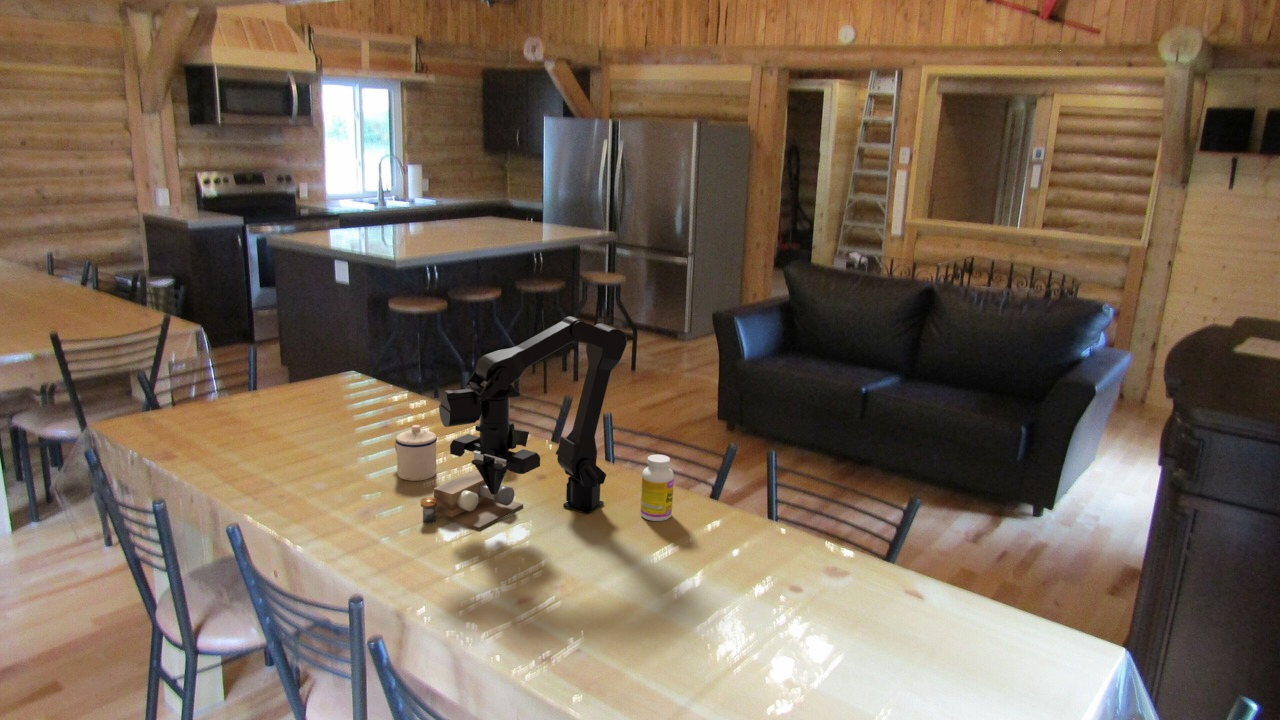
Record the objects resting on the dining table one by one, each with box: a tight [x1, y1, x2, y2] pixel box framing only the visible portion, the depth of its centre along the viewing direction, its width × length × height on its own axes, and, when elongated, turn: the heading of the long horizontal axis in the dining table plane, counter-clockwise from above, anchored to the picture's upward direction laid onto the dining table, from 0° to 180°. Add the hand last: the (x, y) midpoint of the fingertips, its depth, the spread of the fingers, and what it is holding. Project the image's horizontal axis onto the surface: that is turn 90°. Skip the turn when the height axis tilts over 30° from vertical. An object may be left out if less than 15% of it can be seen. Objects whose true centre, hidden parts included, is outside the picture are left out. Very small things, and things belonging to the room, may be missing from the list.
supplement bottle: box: [639, 454, 675, 522], centre depth 181 cm, size 7×7×13 cm
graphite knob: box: [479, 483, 515, 506], centre depth 182 cm, size 9×4×4 cm, turn 59°
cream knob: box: [457, 490, 479, 511], centre depth 179 cm, size 9×4×4 cm, turn 59°
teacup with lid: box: [394, 424, 438, 482], centre depth 198 cm, size 12×9×12 cm
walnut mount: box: [433, 468, 524, 531], centre depth 180 cm, size 13×14×6 cm
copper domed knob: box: [420, 496, 437, 524], centre depth 174 cm, size 3×3×4 cm
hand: (494, 493), depth 173 cm, fingers closed
